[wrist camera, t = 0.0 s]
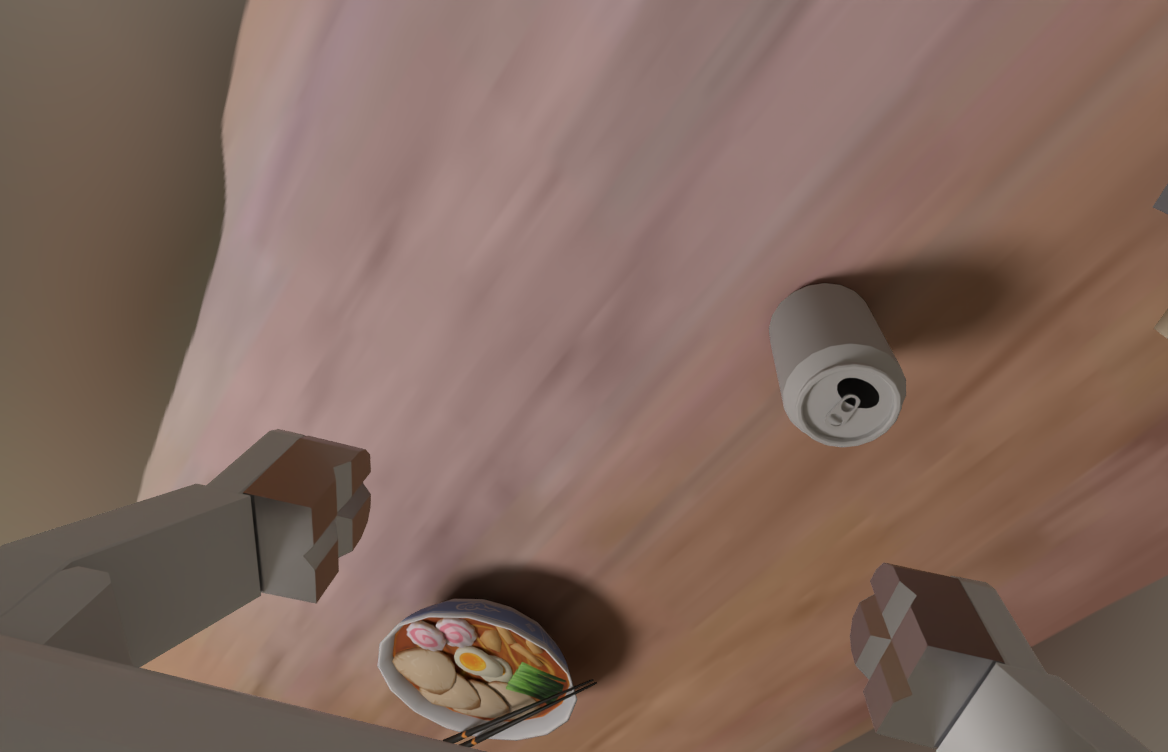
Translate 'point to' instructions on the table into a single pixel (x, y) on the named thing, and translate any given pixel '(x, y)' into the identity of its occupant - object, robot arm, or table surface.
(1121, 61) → the table surface
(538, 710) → the ramen bowl
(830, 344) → the can
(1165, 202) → the grey block
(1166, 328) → the birch block
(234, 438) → the table surface
